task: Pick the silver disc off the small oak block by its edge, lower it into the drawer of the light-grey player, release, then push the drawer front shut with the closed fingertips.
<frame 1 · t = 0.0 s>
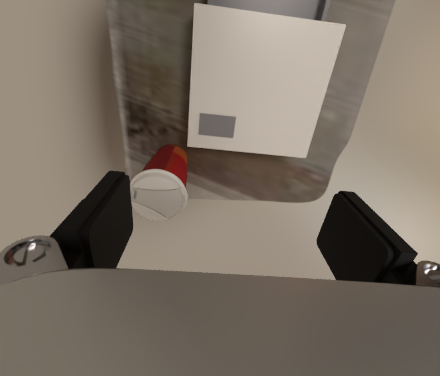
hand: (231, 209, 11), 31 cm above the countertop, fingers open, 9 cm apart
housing: (251, 86, 37), on the countertop
paper cup: (172, 158, 43), on the countertop
drawer: (268, 5, 30), point 3 cm above the countertop, slide at 8.5 cm
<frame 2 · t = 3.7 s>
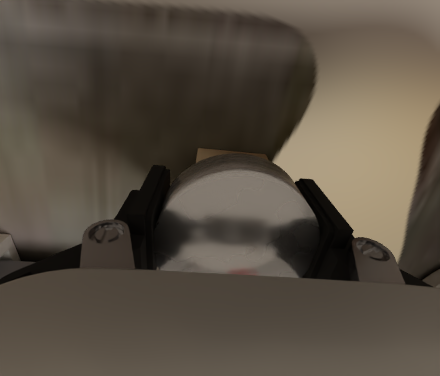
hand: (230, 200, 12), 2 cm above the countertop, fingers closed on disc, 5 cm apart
pedestal: (227, 181, 13), on the countertop
drawer: (35, 367, 16), point 3 cm above the countertop, slide at 8.5 cm
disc: (232, 218, 10), point 4 cm above the countertop, touching gripper, pedestal
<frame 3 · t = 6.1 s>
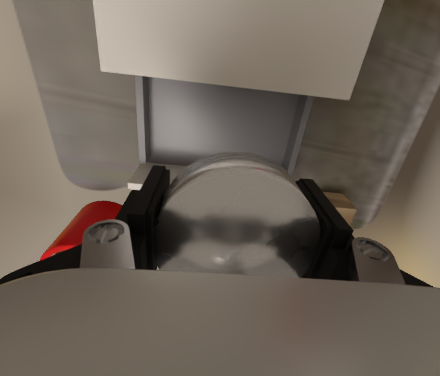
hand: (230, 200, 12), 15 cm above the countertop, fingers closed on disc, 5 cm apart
pedestal: (323, 204, 30), on the countertop
drawer: (225, 97, 21), point 3 cm above the countertop, slide at 8.5 cm
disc: (232, 217, 10), point 17 cm above the countertop, touching gripper
mug: (110, 237, 32), on the countertop
when the fingers open (2 cm above the countertop, at t = 8.5 s): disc drops 2 cm, resting on drawer.
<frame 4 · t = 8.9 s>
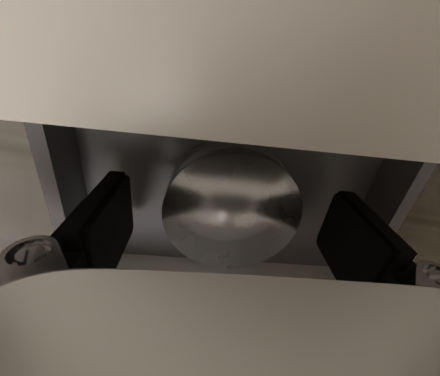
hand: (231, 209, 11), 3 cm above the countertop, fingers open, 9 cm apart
drawer: (243, 148, 9), point 3 cm above the countertop, slide at 8.5 cm, touching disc
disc: (229, 195, 12), point 1 cm above the countertop, touching drawer
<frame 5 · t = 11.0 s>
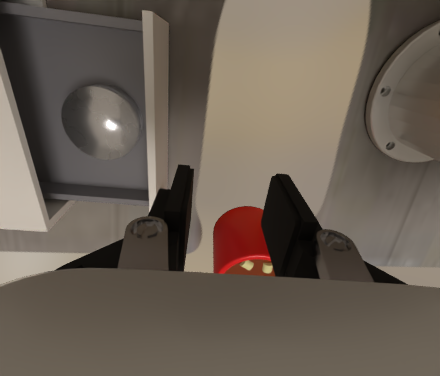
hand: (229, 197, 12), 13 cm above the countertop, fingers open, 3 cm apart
drawer: (62, 121, 20), point 3 cm above the countertop, slide at 8.5 cm, touching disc
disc: (109, 120, 21), point 1 cm above the countertop, touching drawer
mug: (260, 233, 30), on the countertop
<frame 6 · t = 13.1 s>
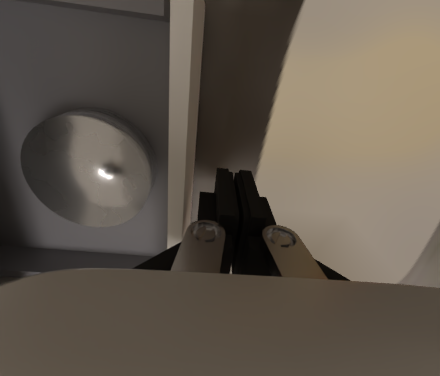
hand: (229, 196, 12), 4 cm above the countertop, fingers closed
drawer: (23, 170, 12), point 3 cm above the countertop, slide at 7.9 cm, touching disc, gripper
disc: (103, 162, 14), point 1 cm above the countertop, touching drawer
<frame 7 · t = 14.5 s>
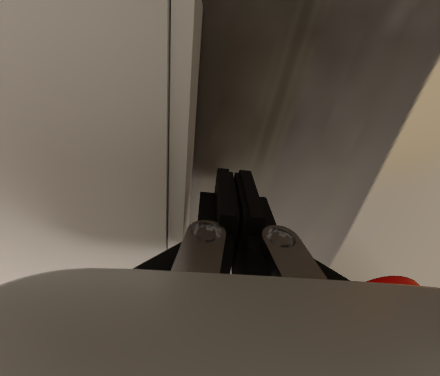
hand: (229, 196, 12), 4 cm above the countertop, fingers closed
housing: (38, 149, 14), on the countertop
drawer: (18, 174, 12), point 3 cm above the countertop, slide at -0.3 cm, touching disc, gripper
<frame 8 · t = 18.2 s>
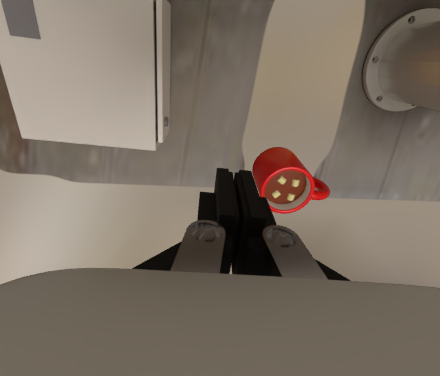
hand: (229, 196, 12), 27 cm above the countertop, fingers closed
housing: (101, 66, 33), on the countertop
drawer: (101, 68, 30), point 3 cm above the countertop, slide at 0.0 cm, touching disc
mug: (286, 170, 42), on the countertop
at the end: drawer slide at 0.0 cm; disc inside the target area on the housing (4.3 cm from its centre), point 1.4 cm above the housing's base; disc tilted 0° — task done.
